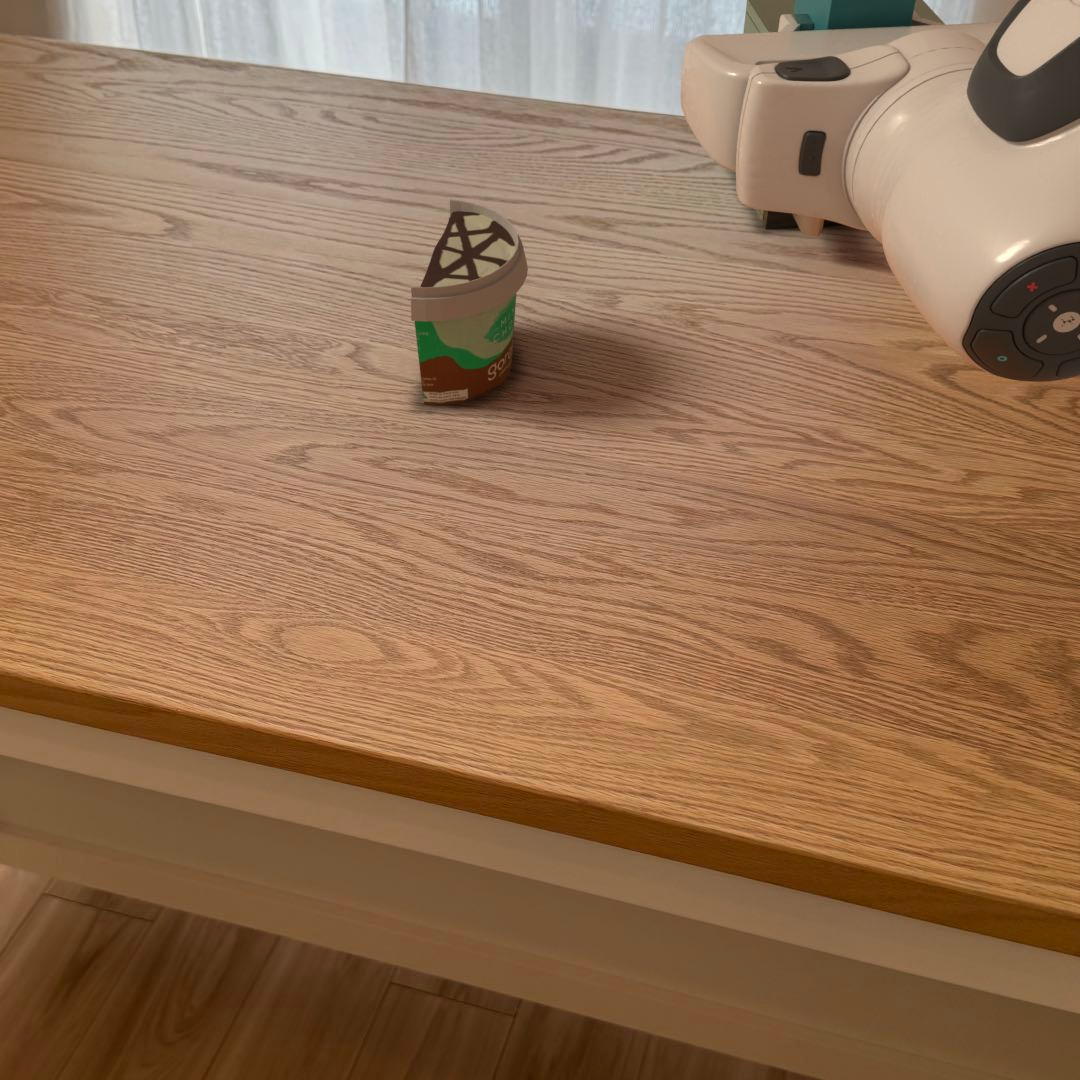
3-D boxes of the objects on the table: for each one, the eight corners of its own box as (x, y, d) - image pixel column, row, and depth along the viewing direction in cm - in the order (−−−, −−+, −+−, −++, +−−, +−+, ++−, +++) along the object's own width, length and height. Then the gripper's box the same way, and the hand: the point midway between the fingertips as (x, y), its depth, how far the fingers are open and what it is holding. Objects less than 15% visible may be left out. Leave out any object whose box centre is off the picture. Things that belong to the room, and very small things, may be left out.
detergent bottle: (851, 121, 74) (896, -129, 65) (882, 167, 70) (935, -94, 61) (778, 124, 74) (812, -126, 65) (804, 170, 70) (845, -91, 60)
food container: (511, 433, 81) (509, 300, 74) (419, 423, 82) (408, 292, 75) (541, 329, 90) (541, 202, 83) (457, 321, 91) (451, 195, 84)
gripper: (1161, 59, 57) (1040, -43, 67) (722, 80, 55) (666, -27, 65) (1117, 187, 61) (1010, 73, 71) (709, 209, 60) (658, 90, 70)
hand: (842, 25), depth 68 cm, fingers closed on detergent bottle, 4 cm apart
